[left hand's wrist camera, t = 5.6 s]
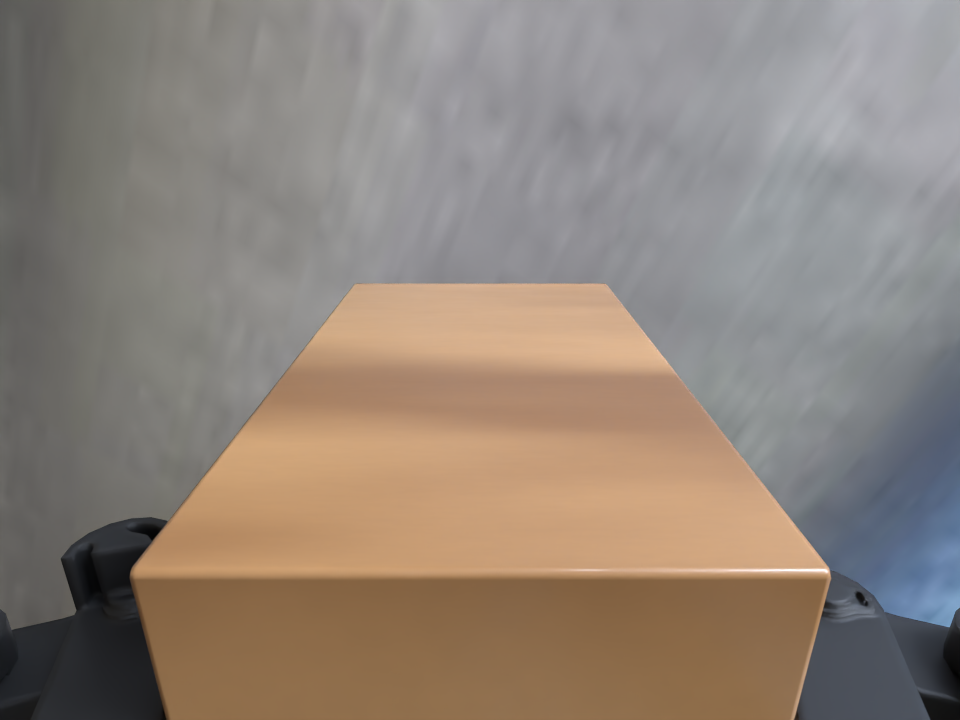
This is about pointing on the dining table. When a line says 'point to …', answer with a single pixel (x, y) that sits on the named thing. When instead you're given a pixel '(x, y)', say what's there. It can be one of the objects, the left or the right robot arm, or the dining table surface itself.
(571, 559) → the bar
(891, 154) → the dining table surface
